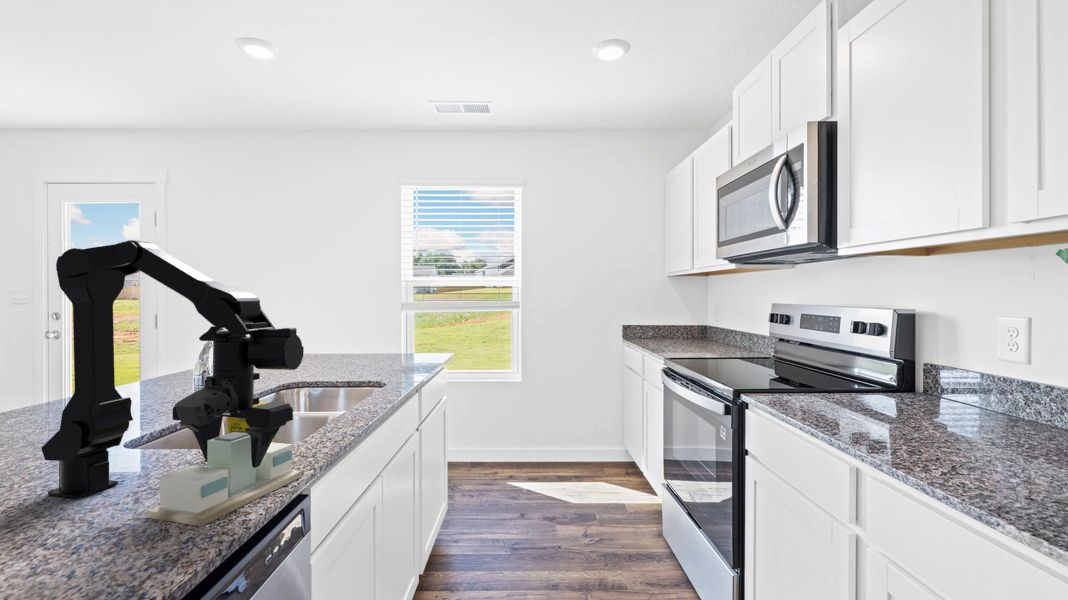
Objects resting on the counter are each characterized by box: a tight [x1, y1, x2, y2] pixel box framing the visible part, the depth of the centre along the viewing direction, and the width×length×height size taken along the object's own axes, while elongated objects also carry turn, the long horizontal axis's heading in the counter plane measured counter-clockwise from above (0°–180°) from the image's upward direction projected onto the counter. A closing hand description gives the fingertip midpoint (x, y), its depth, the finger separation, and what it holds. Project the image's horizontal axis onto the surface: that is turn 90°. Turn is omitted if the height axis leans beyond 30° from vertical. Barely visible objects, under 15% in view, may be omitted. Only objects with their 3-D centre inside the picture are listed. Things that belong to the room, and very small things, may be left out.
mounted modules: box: [159, 442, 293, 513], centre depth 80 cm, size 7×18×4 cm, turn 166°
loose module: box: [206, 432, 256, 494], centre depth 80 cm, size 4×5×8 cm
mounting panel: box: [146, 469, 303, 527], centre depth 80 cm, size 10×20×1 cm, turn 166°
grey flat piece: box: [158, 468, 294, 516], centre depth 80 cm, size 7×19×1 cm, turn 166°
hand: (232, 464), depth 80 cm, fingers open, 9 cm apart
